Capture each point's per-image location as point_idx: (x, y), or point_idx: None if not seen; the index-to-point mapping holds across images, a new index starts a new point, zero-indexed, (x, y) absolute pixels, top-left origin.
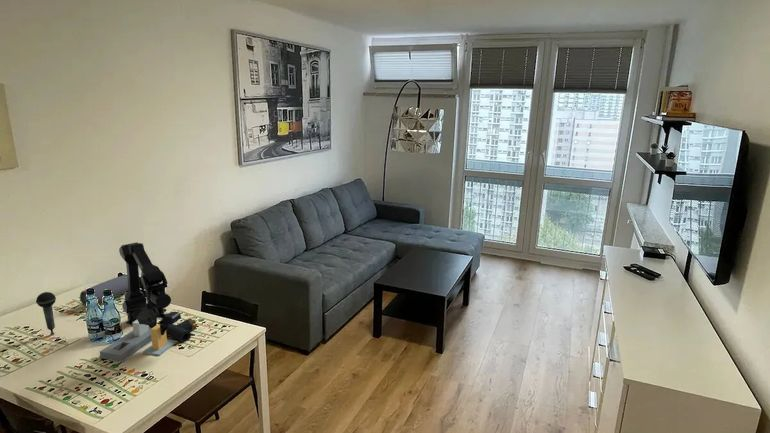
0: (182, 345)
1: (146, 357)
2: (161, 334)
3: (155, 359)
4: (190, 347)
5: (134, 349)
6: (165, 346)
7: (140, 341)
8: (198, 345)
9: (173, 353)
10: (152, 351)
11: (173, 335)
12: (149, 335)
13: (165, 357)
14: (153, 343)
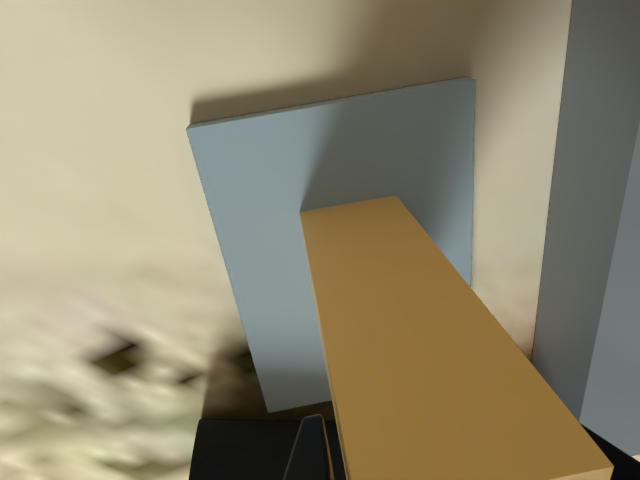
0: (160, 386)
1: (323, 7)
2: (337, 421)
3: (150, 24)
4: (42, 399)
5: (608, 32)
6: (287, 293)
7: (633, 189)
8: (10, 451)
9: (82, 245)
10: (344, 144)
11: (336, 452)
12: (599, 339)
13: (75, 132)
14: (398, 234)
